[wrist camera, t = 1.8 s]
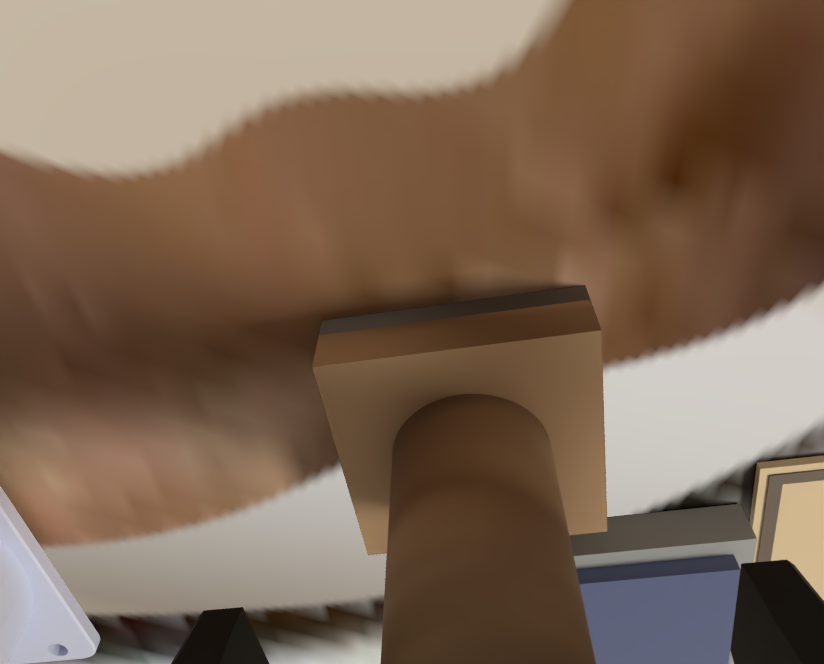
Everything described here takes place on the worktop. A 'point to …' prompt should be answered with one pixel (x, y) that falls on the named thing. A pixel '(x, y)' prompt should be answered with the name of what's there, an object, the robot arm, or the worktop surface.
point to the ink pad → (664, 584)
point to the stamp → (473, 469)
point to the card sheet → (791, 515)
